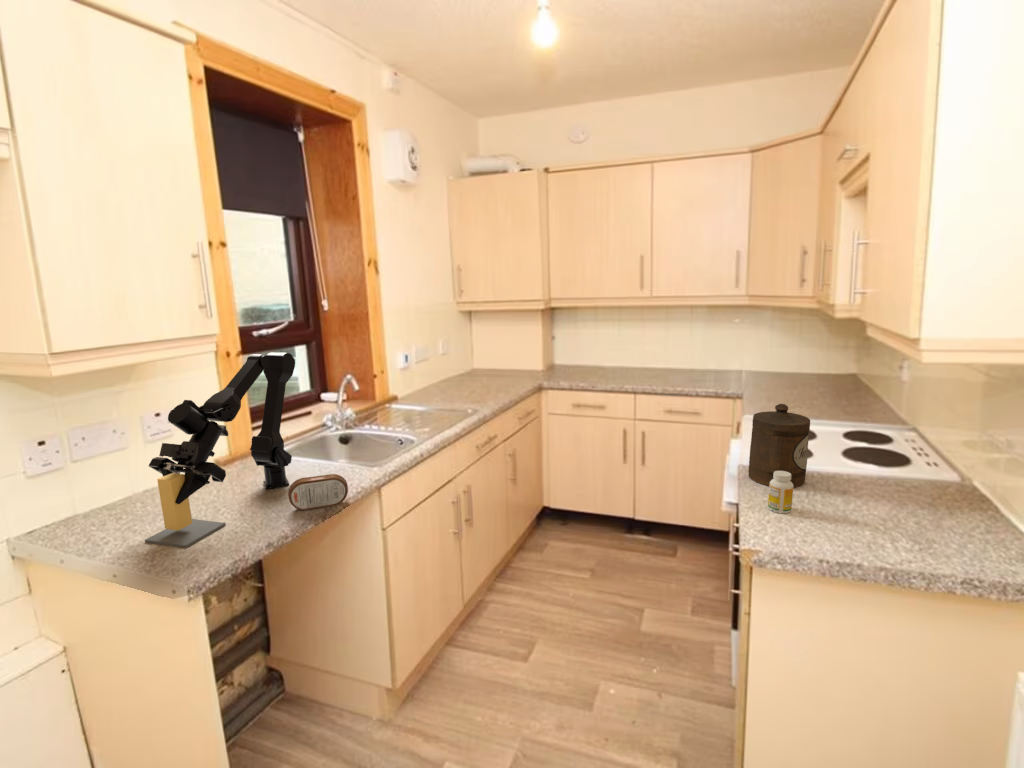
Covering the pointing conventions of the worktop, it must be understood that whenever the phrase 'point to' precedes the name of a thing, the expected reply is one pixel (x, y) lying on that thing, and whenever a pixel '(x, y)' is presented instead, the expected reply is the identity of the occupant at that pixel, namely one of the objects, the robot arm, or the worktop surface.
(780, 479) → the supplement bottle
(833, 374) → the worktop surface
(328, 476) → the tin
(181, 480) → the ochre post
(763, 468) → the wooden container
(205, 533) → the charcoal mat
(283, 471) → the robot arm
